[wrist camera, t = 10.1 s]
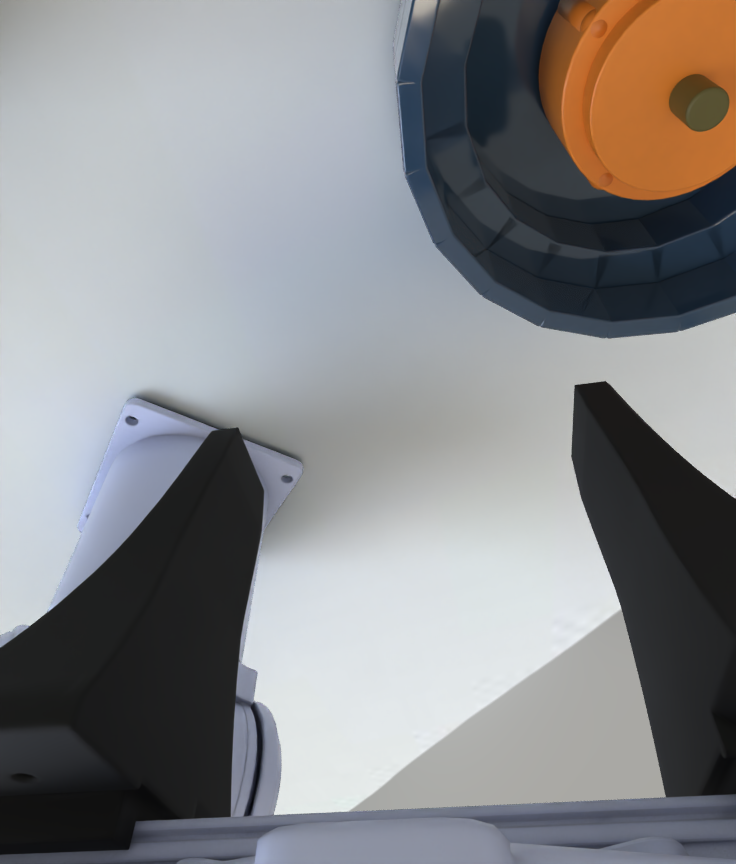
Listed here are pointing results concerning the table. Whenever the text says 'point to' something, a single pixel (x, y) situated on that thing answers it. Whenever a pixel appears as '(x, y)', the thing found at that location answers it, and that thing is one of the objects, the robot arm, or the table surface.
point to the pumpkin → (643, 92)
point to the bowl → (543, 187)
